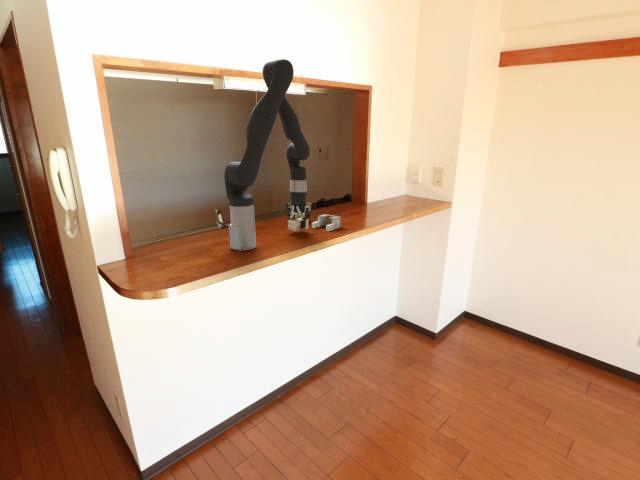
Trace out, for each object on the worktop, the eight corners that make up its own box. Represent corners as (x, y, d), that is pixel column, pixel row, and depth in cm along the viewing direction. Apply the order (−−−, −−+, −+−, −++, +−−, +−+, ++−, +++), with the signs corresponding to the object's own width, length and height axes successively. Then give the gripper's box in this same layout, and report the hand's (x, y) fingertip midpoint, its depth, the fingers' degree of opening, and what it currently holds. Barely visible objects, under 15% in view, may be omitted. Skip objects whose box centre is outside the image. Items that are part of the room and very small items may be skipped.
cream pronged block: (295, 231, 161) (295, 222, 160) (288, 229, 165) (287, 220, 163) (308, 228, 167) (308, 219, 166) (300, 226, 170) (300, 217, 169)
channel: (328, 231, 168) (328, 220, 167) (311, 227, 175) (311, 217, 173) (341, 227, 176) (341, 216, 174) (325, 223, 182) (325, 213, 181)
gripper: (280, 189, 163) (281, 226, 167) (304, 192, 154) (304, 231, 158) (292, 187, 168) (292, 223, 173) (316, 190, 159) (315, 228, 164)
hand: (298, 227), depth 166 cm, fingers closed on cream pronged block, 5 cm apart
